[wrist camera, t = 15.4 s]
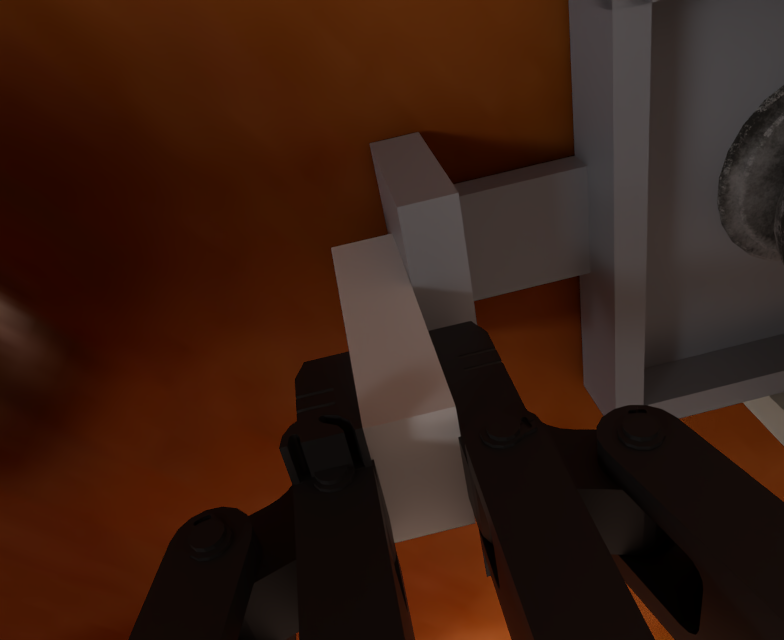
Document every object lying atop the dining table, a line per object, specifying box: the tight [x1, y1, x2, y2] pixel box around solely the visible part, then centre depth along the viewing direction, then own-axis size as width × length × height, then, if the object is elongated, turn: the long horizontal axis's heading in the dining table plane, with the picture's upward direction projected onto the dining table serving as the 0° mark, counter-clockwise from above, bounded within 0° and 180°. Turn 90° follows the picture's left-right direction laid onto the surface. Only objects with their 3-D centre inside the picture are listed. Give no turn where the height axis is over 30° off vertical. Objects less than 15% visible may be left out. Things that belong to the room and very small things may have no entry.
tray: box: [369, 0, 784, 419], centre depth 17 cm, size 17×12×4 cm
